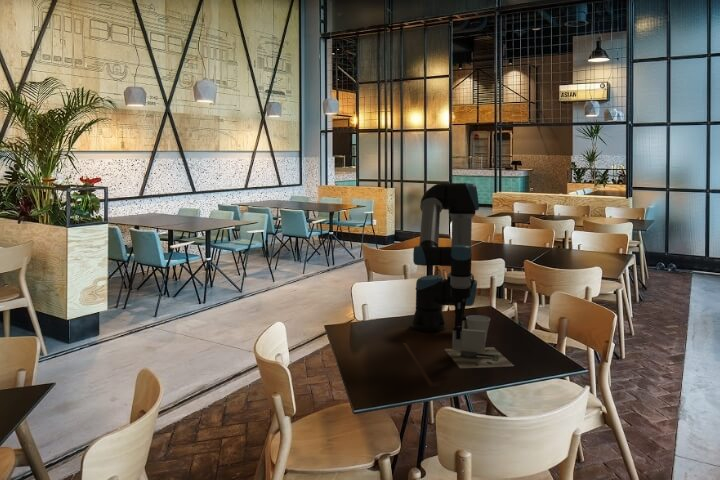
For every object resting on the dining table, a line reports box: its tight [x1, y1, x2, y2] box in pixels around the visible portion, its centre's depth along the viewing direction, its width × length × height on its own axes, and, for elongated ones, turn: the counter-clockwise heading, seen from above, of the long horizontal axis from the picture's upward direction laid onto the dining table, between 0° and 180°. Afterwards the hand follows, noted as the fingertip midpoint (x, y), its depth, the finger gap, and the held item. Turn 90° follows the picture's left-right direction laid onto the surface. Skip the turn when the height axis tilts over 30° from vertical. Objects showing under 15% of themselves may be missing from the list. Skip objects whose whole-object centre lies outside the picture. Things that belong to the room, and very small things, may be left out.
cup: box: [465, 314, 491, 343], centre depth 241 cm, size 10×10×11 cm
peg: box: [451, 328, 494, 358], centre depth 222 cm, size 15×6×10 cm, turn 74°
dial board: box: [444, 346, 515, 369], centre depth 222 cm, size 22×20×1 cm
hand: (459, 342), depth 224 cm, fingers open, 13 cm apart
